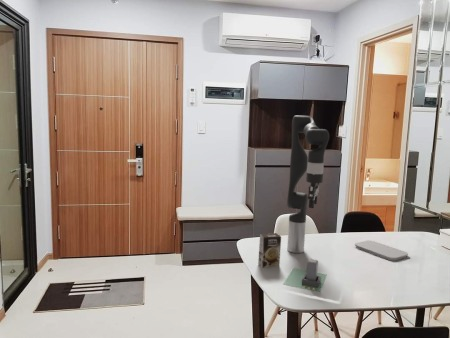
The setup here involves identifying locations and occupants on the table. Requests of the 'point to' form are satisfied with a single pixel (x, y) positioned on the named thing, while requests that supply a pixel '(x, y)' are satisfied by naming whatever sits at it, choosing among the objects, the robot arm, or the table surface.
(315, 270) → the plug
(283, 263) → the table surface
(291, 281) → the board
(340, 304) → the table surface
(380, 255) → the tablet
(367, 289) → the table surface
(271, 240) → the coffee box
